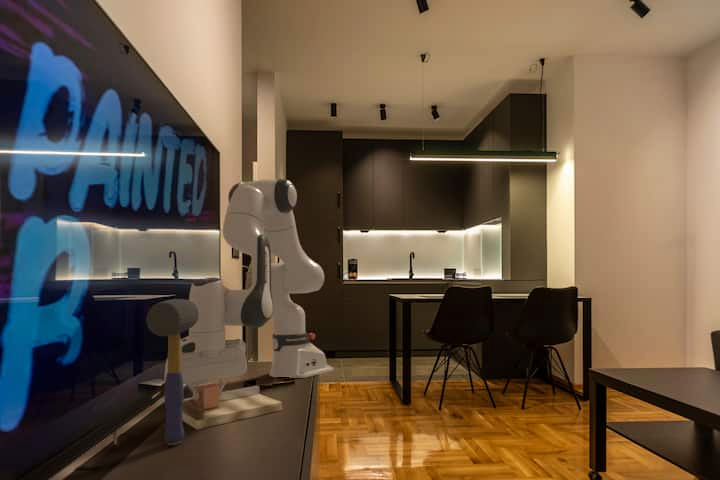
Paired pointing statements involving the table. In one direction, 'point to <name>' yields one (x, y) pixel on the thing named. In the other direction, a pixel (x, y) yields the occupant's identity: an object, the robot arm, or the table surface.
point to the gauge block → (208, 395)
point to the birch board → (229, 411)
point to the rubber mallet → (173, 357)
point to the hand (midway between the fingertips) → (207, 398)
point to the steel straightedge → (233, 394)
